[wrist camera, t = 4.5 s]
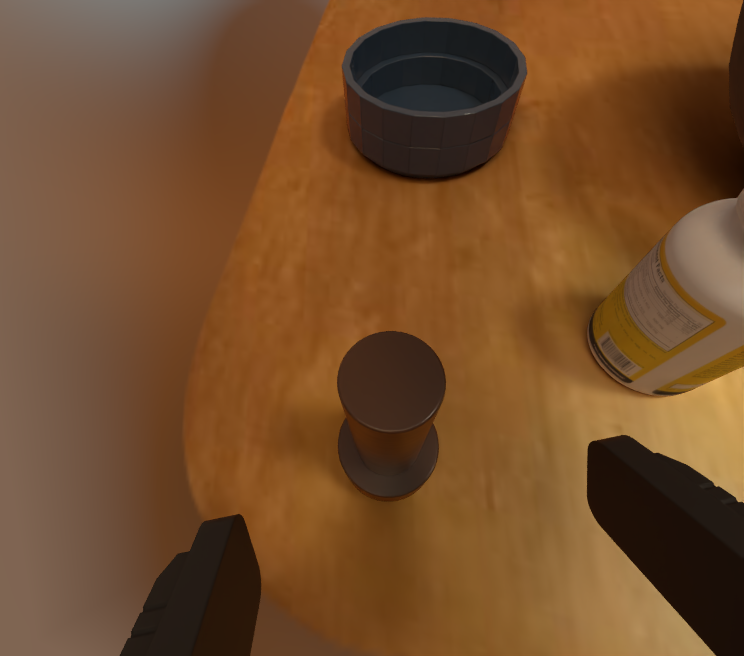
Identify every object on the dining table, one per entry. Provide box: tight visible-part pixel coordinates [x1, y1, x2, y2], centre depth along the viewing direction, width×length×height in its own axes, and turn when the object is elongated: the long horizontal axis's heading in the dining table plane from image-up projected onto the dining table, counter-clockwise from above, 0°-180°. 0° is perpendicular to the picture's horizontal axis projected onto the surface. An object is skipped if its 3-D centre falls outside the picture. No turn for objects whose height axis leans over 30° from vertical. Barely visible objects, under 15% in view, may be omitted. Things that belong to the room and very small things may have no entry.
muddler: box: [337, 331, 446, 501], centre depth 15 cm, size 5×5×11 cm
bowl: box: [342, 18, 527, 178], centre depth 30 cm, size 14×14×6 cm
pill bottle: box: [587, 189, 744, 396], centre depth 17 cm, size 6×6×12 cm
